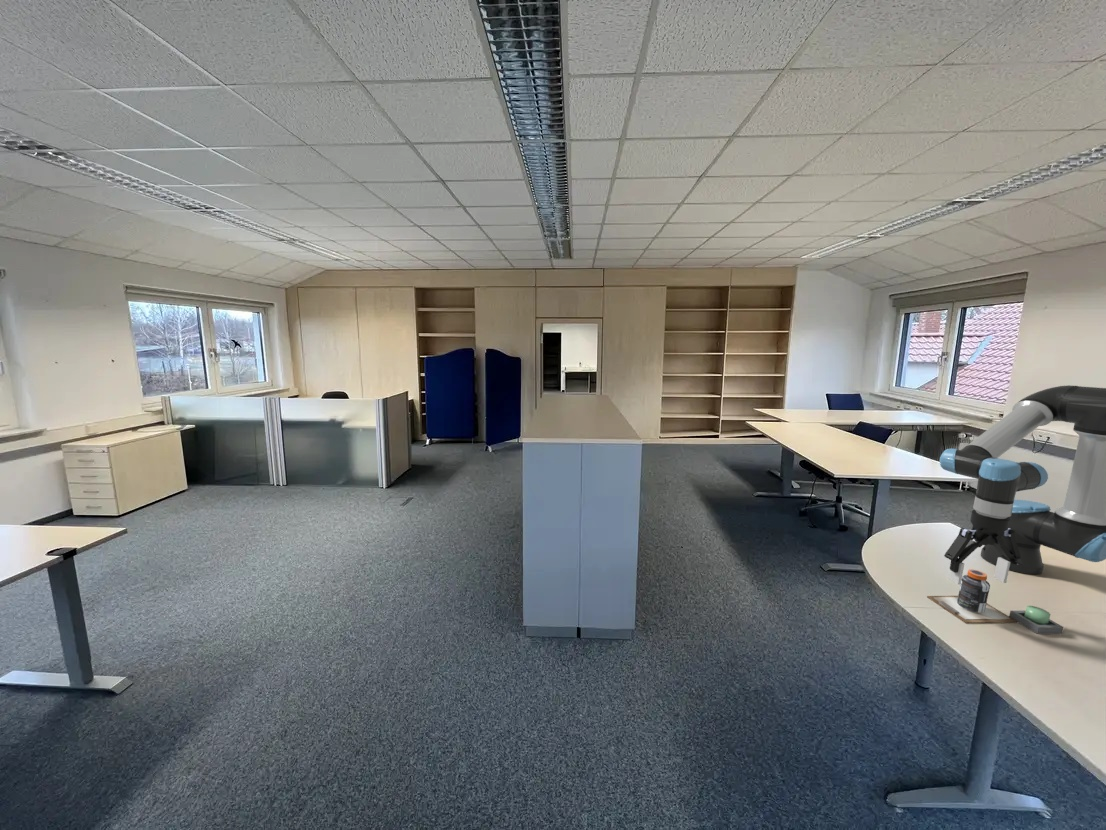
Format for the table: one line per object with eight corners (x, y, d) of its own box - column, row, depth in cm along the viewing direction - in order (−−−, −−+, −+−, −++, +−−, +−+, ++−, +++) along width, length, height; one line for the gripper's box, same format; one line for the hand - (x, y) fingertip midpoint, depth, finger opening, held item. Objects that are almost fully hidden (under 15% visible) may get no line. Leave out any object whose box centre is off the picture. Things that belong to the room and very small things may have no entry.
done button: (1034, 614, 119) (1036, 605, 118) (1052, 625, 115) (1055, 615, 114) (1019, 615, 119) (1021, 605, 118) (1037, 625, 115) (1040, 616, 114)
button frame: (1032, 616, 121) (1033, 610, 120) (1061, 633, 114) (1063, 627, 113) (1008, 616, 120) (1010, 610, 120) (1037, 633, 114) (1038, 627, 113)
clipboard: (973, 596, 130) (974, 593, 130) (1016, 622, 118) (1017, 619, 118) (926, 597, 129) (927, 594, 129) (965, 623, 117) (966, 620, 117)
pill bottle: (990, 615, 120) (998, 579, 118) (966, 612, 121) (973, 576, 119) (974, 602, 126) (981, 568, 124) (951, 599, 127) (958, 565, 125)
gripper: (1018, 506, 122) (1004, 572, 126) (935, 508, 121) (924, 574, 125) (1049, 517, 114) (1033, 587, 119) (961, 520, 114) (948, 589, 118)
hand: (977, 580), depth 122 cm, fingers open, 13 cm apart
